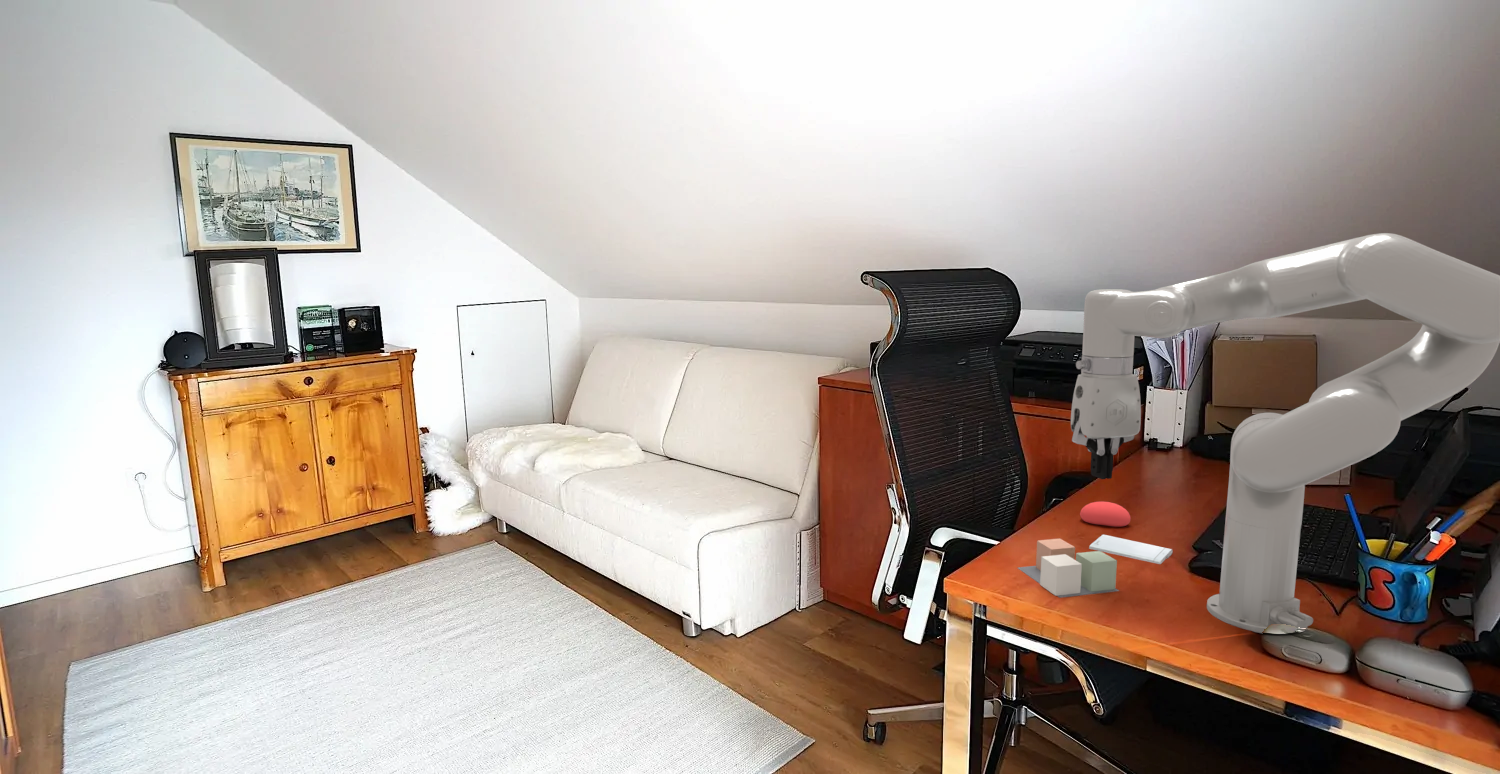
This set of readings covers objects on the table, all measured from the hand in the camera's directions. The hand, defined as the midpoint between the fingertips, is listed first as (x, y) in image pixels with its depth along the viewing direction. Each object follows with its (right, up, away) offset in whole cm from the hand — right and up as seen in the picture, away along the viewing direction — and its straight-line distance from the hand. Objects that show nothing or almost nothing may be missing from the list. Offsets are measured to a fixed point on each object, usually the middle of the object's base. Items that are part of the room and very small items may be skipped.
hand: (1101, 476), depth 130 cm
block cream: (-6, -19, +1) cm, 20 cm away
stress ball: (+16, -14, +34) cm, 40 cm away
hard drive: (+14, -17, +19) cm, 29 cm away
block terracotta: (-4, -18, +9) cm, 20 cm away
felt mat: (-3, -19, +6) cm, 20 cm away
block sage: (0, -19, +3) cm, 19 cm away
